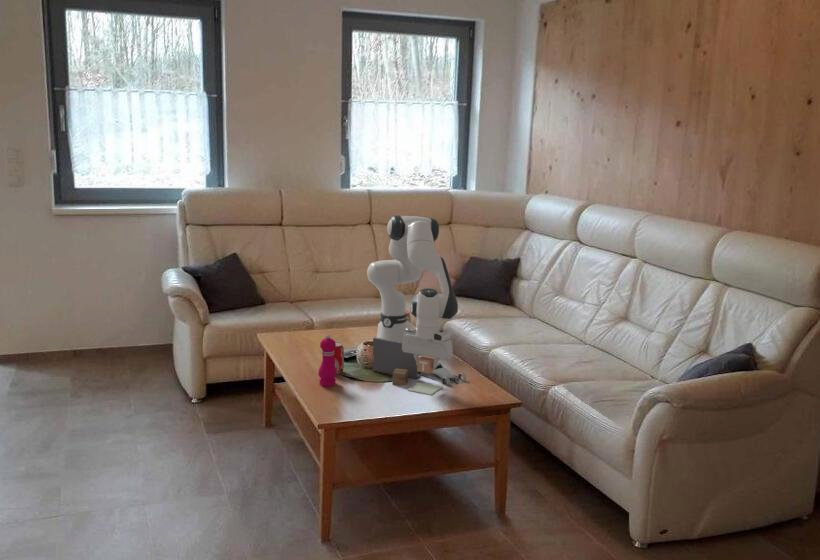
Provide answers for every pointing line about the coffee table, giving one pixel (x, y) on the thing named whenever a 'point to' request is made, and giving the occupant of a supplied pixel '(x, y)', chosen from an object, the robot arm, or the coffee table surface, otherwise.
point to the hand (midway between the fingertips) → (426, 366)
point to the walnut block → (400, 377)
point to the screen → (393, 358)
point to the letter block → (425, 364)
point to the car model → (444, 376)
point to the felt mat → (425, 388)
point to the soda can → (338, 357)
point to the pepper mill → (327, 362)
